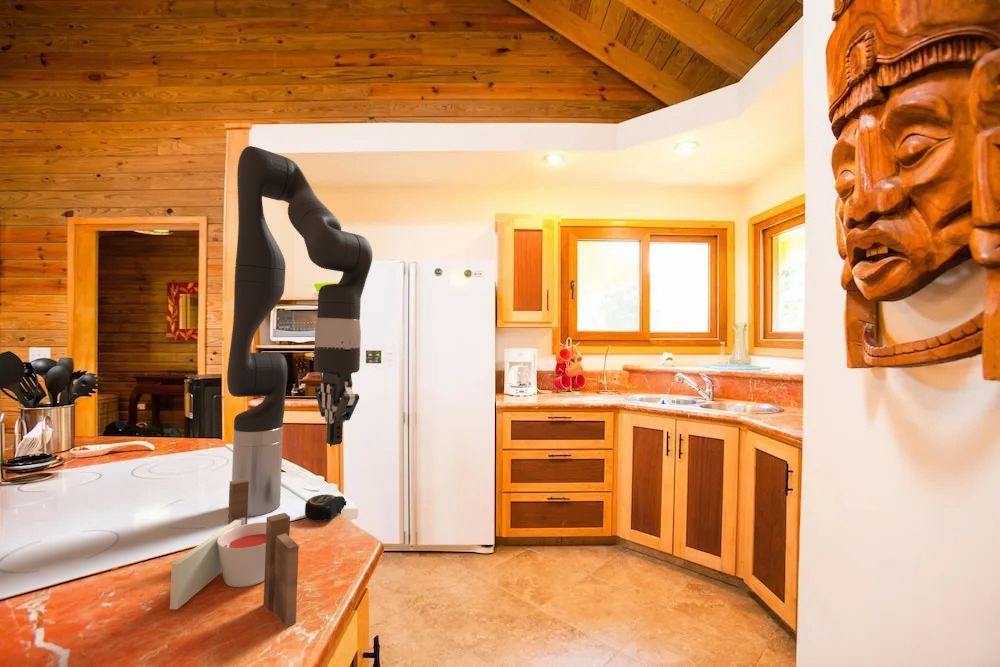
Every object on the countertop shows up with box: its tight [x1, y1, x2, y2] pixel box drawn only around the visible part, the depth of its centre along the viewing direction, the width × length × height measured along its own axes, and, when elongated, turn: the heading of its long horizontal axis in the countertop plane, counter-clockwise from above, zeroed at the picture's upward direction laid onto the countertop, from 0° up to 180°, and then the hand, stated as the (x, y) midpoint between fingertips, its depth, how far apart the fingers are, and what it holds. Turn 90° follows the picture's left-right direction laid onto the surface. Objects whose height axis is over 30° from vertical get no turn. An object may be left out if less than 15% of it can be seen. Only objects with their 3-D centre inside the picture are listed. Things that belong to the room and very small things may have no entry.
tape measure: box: [304, 494, 348, 522], centre depth 89 cm, size 7×7×4 cm
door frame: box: [227, 479, 300, 627], centre depth 65 cm, size 26×2×12 cm, turn 45°
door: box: [169, 518, 245, 610], centre depth 65 cm, size 15×3×6 cm, turn 0°
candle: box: [217, 521, 267, 588], centre depth 67 cm, size 9×9×6 cm
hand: (334, 443), depth 75 cm, fingers closed
